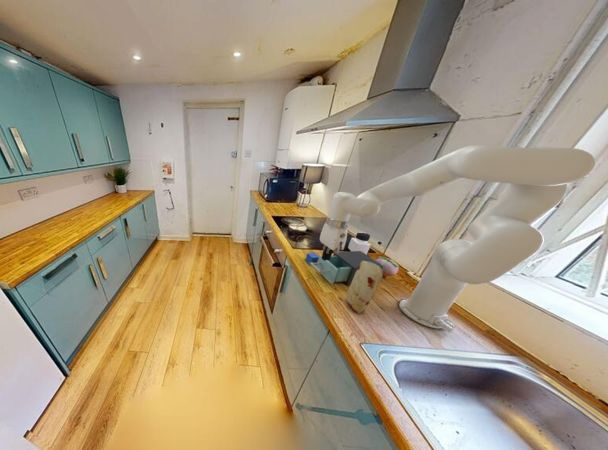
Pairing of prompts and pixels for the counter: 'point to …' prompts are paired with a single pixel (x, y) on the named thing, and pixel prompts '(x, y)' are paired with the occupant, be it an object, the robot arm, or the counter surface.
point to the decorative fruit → (388, 266)
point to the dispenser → (355, 262)
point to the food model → (363, 285)
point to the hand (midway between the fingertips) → (325, 259)
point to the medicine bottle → (360, 243)
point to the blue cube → (312, 258)
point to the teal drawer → (332, 269)
